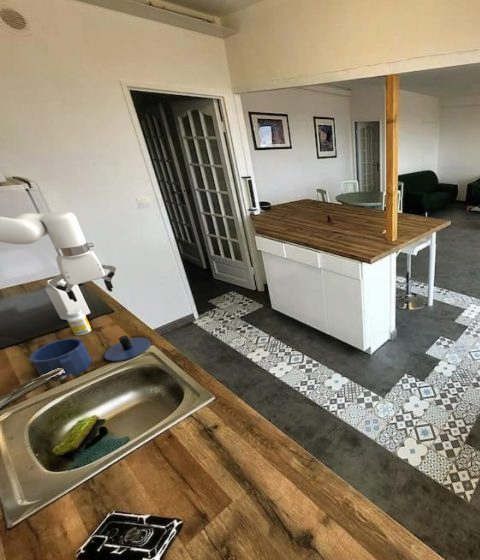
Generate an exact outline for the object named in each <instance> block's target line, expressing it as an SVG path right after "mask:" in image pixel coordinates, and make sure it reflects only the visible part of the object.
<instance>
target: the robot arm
mask: <svg viewBox="0 0 480 560" xmlns="http://www.w3.org/2000/svg"><path fill="white" fill-rule="evenodd" d="M47 235H48V236H49V237H50V240H51V242H52V244H53V246H54V248H55V250H56V252H57V255H56V256H55V260H56V264H57V267H58V270H59V273H60V274H58V275H57V276H55V277H54V278H51V279H52V280H51V279H50V280H51V281H49V284H50V285H52V286H53V287H55V288H57V289H59V290H62V291H65V292H66V293H67V295H68V297H69V299H70V300H73V301H74V302H77V299H76V297H75V294H74V292H73V291H72V290H71V289H72V287H73V285H80V284H84V283H85V284H86V283H88V282H93V281H96V280H100V279H102V280H103V283H104V286H105V287H106V290H107V291H109V292H110V293H111V292H113V288H114V286H113V283H112V279H113V277H114V276H115V273H116V270H117V267H116V266H114V265H109V264H101V262H100V261H99V259H98V257H97V255H96V254H95V252H94V251H93V250H92V249H91V248H94V247H95V246H94V243H93V242H87V241H86V238H85V236H84V233H83V231H82V229H81V226H80V224H79V221H78V219H77V217H76V214H74V213H73V212H70V211H57V212H49V213H38V212H37V213H36V212H25V213H21V214H18V215H16V216H14V217H12V218H10V217H6V216H2V215H1V216H0V243H5V244H11V245H30V244H34V243H36V242H37V241H39V240H40V239H41V238H42V237H44V236H47ZM105 270H109V272H108V273H107V274H105V273H106V272H105ZM62 279H63V280H64V281H65V282H66V284H65V286H61V285H59V284H57V282H59V281H60V280H62Z"/></svg>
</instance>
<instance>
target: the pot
mask: <svg viewBox="0 0 480 560" xmlns="http://www.w3.org/2000/svg"><path fill="white" fill-rule="evenodd" d="M28 359H29V360H30V362H31V363H32V366H33V367H34V369H35V370H36V372H37V373H38V375H39V377H40V376H41V375H43V374H46V373H48V372H50V371H52V370H55V369H57V368H63V369H64V371H65V373H62V374H61V375H59V376H57V377H55V378H54V379H58V378H61V377H64V376H68V375H70V374H71V375H72V376H73V377H76V376H77V375H79V374H81V373H83V372H84V371H86V370H87V369H88V368H89V367H90V366H91V365H92V363H93V359H92V357H91V355H90V353H89V350H88V349H87V347H86V344H85V342H84V341H83V340H82V338H78V337H71V338H63V339H59V340H56V339H54V340H51V341H48V342H46V343H45V344H44V345H42V346H41V347H38V348H37V349H36V350H34V351H33V352H32V353H31V354H30V356H29V357H28Z"/></svg>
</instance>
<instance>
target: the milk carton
mask: <svg viewBox="0 0 480 560" xmlns="http://www.w3.org/2000/svg"><path fill="white" fill-rule="evenodd" d="M52 279H53V278H51V279H49V280H46V282H47V284H46V286H45V288H44V289H45V291H46V293H47V295H48V297H49V299H50V301H51V303H52V305H53V307H54V309H55V311H56V313H57V315H58V316H59V318H60V320H64V321H67V319H68V318H69V317H68V315H67V313H68V312H70V311H72V310H81V312H82V314H84V315H85V316H88V315H90V314H91V311H90V308H89V307H88V304H87V302H86V300H85V298H84V296H83V293H82V291H81V289H80V287H79V284H77V285H73V287H72V289H71V290H72V291H73V292H74V294H75V297H76V299H77V302H74V301H73V300H70V299H69V297H68V295H67V293H66V292H65V291H62V290H59V289H57V288H55V287H53V286H52V285H50V284H49V281H51V280H52ZM57 284H59V285H61V286H65V284H66V282H65V281H64V280H63V279H62V280H60V281H59V282H57Z"/></svg>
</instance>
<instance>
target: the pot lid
mask: <svg viewBox="0 0 480 560" xmlns="http://www.w3.org/2000/svg"><path fill="white" fill-rule="evenodd" d="M118 340H119V342H117V343H116V344H114V345H112V346H111V347H109V348H108V349H107V350H106V351H105V352H104V356H103V357H104V358H105V359H104V360H106V361H109V362H122V361H126V360H128V359H132V358H135V357H137V356H139V355H141V354H142V353H145V352H146V351H147V350H148V349H149V348H150V347H151V340H150V339H148V338H146V337H133V338H129V336H128V335H121V336H120V337H118Z"/></svg>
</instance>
